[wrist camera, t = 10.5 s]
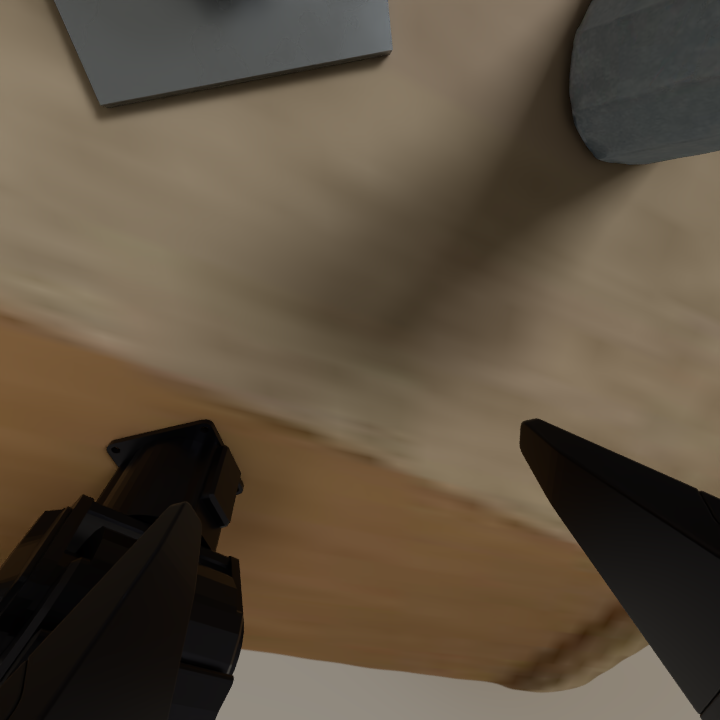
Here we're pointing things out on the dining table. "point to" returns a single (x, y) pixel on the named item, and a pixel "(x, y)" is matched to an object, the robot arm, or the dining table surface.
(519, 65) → the dining table surface
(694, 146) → the moka pot
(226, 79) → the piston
